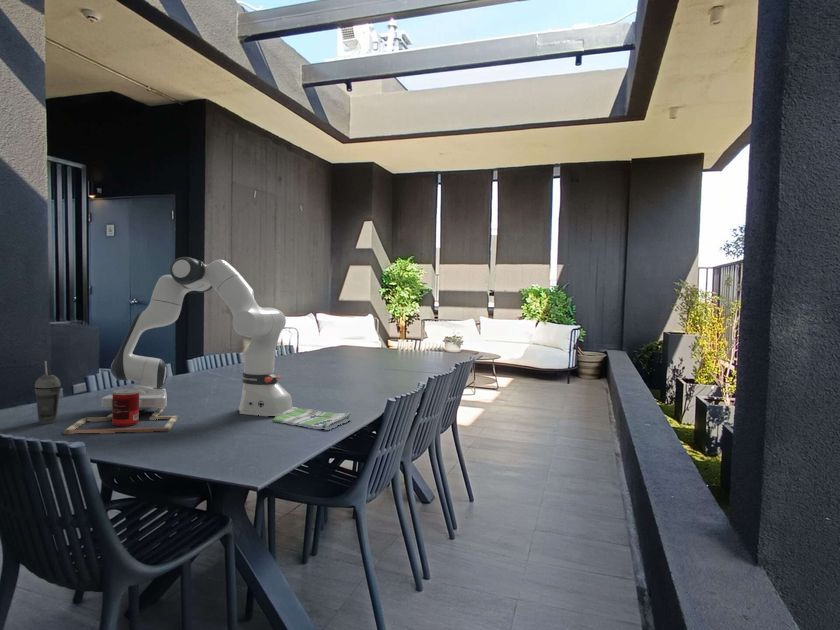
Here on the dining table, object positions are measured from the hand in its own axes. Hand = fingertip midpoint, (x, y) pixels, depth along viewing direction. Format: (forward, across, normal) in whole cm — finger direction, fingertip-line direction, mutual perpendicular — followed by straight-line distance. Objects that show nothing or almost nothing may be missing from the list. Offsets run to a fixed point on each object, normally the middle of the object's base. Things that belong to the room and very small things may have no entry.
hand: (129, 405), depth 177 cm
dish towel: (+7, +60, +6) cm, 61 cm away
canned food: (+4, 0, +5) cm, 7 cm away
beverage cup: (-1, -24, +5) cm, 25 cm away
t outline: (-1, 0, +5) cm, 5 cm away
